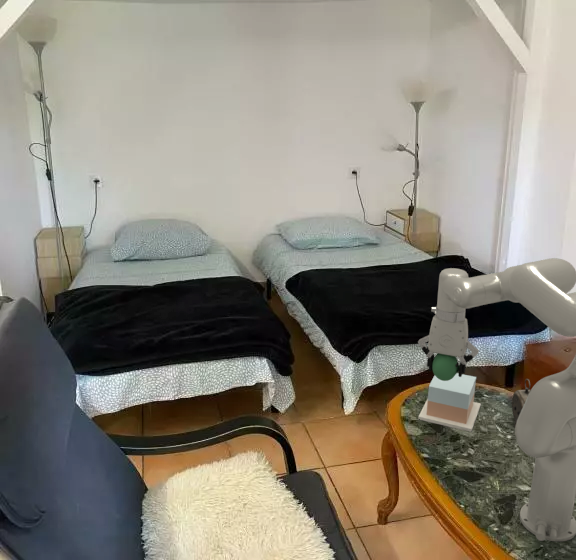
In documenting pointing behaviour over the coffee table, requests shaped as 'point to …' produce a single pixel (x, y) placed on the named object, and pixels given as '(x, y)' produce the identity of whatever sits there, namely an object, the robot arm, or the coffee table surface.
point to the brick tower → (451, 403)
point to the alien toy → (445, 367)
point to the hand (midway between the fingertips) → (445, 371)
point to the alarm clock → (519, 401)
